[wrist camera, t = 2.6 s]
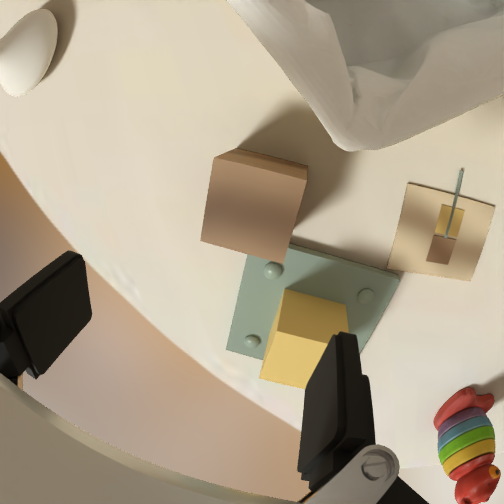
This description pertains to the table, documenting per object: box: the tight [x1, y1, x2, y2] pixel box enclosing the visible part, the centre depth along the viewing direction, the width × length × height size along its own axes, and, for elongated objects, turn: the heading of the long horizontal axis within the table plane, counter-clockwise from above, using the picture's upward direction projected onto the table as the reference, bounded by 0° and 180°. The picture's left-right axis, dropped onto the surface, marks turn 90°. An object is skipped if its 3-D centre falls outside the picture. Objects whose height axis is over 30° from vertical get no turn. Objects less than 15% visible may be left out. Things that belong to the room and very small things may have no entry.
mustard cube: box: [259, 289, 349, 389], centre depth 25 cm, size 6×6×6 cm
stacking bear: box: [434, 388, 501, 504], centre depth 24 cm, size 11×10×18 cm
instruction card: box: [387, 170, 495, 281], centre depth 22 cm, size 10×10×1 cm
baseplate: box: [226, 243, 400, 360], centre depth 28 cm, size 14×14×1 cm
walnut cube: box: [200, 148, 308, 264], centre depth 22 cm, size 6×6×6 cm
